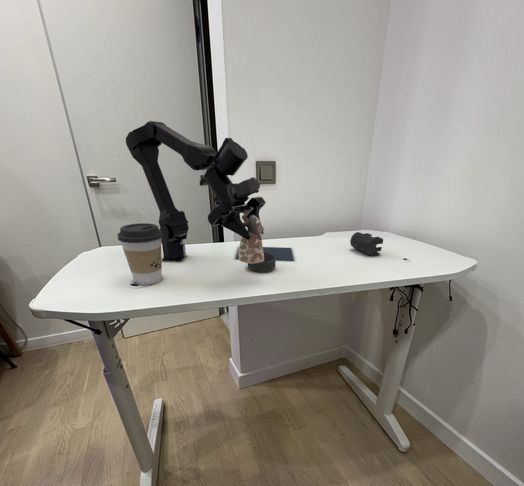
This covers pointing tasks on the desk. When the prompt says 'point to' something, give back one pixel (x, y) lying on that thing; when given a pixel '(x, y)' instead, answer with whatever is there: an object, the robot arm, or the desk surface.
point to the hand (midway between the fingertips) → (256, 236)
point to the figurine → (252, 241)
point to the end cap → (366, 243)
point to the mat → (277, 253)
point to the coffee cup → (143, 251)
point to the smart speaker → (264, 264)
